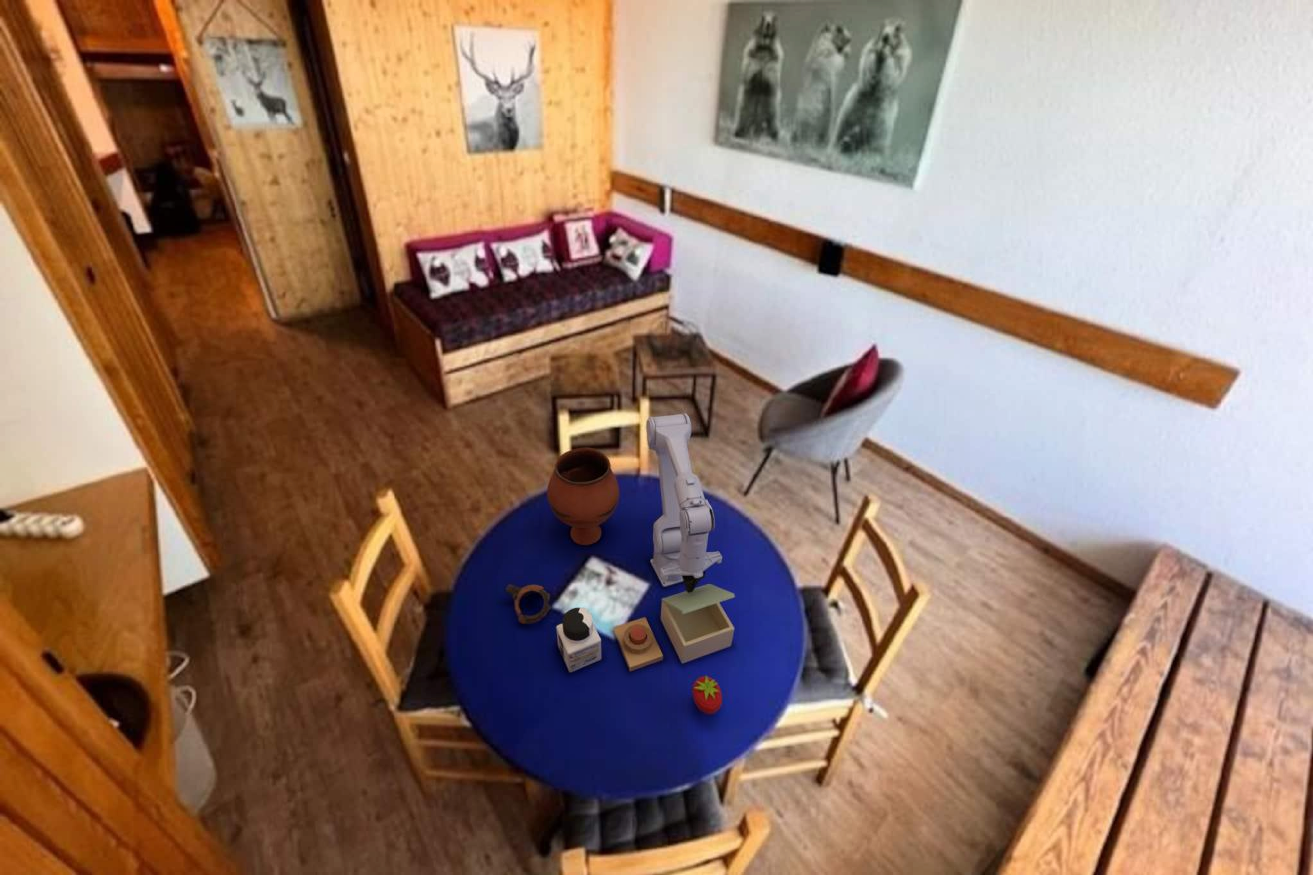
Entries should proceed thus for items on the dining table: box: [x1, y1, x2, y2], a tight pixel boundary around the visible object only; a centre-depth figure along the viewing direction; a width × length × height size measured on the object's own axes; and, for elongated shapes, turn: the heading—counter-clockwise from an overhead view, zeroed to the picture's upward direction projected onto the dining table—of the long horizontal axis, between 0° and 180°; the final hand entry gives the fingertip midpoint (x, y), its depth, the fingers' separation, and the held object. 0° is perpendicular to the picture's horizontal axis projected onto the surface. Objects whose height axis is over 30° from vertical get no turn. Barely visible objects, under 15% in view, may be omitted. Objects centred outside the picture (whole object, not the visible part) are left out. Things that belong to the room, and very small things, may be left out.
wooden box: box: [660, 601, 735, 664], centre depth 135 cm, size 13×13×7 cm
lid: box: [661, 583, 736, 614], centre depth 130 cm, size 13×13×1 cm
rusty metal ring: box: [505, 583, 552, 625], centre depth 138 cm, size 12×10×8 cm
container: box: [555, 606, 602, 673], centre depth 127 cm, size 8×8×13 cm
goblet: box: [546, 447, 620, 546], centre depth 153 cm, size 19×19×25 cm
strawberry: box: [692, 674, 723, 715], centre depth 119 cm, size 6×8×10 cm
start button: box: [630, 626, 646, 644], centre depth 131 cm, size 4×4×2 cm
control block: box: [613, 616, 664, 672], centre depth 132 cm, size 11×8×4 cm
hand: (688, 588), depth 135 cm, fingers closed
